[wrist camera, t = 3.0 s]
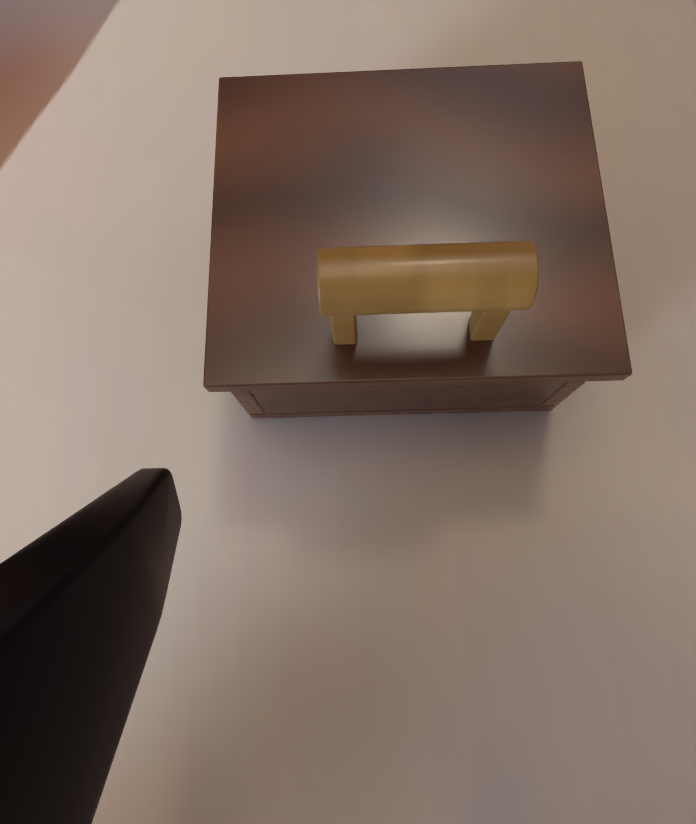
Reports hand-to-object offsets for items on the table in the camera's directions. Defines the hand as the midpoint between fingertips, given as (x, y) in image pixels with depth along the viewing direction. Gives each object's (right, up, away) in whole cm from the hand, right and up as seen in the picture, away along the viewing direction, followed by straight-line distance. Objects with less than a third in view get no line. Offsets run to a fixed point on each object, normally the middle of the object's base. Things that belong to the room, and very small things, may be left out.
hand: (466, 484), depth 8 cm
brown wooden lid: (0, +7, +10) cm, 12 cm away
